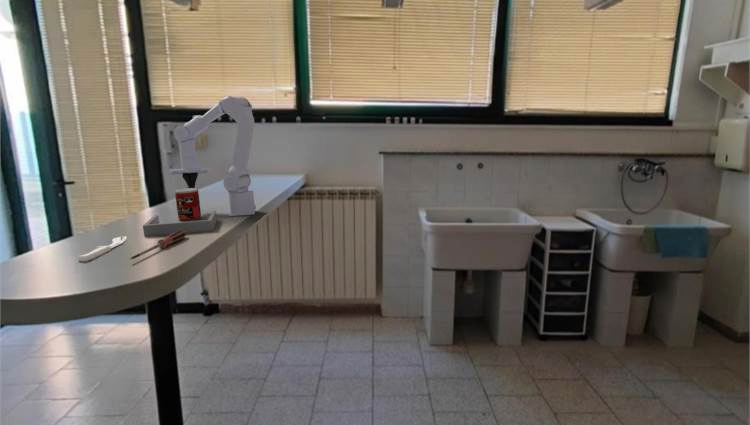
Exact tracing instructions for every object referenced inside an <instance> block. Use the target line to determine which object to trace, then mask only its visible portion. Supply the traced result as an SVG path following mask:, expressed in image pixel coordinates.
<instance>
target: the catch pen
mask: <svg viewBox="0 0 750 425" xmlns="http://www.w3.org/2000/svg"><path fill="white" fill-rule="evenodd" d="M159 217H160V216H159V214H156V215H155V214H154V215H153V216H152V217H151V218H150V219H149V220H147V222H145V223H144V224H143V225H142V230H143V235H144V236H143V237H154V236H155V237H156V236H168V235H171V234H172V233H174V232H177V231H181V230H183V231H185V232H186V234H189V233H201V232H213V231H214V228H215V227H216V224H217V222H218V217H217V210H213V211H212V212H211V213H210V215H209V217H208V219H205V220H204V219H203V220H191V221H178V222H176V221H175V222H166V223H165V222H163V223H160V218H159Z"/></svg>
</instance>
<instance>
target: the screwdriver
mask: <svg viewBox="0 0 750 425" xmlns="http://www.w3.org/2000/svg"><path fill="white" fill-rule="evenodd" d="M186 235H187V233H186V232H185V231H183V230H181V231H177V232H174V233H172V234H168V235H166V237H165V238H162V239H161V238H160V239H159V240H158V241H157V244H155V245H154V246H152V247H149V248H148V249H145V250H143V251H141V252H138V253H137V254H135V255H134V256H132V257H130V258H129V260H134V259H137V258H138V257H141V256H143V255H145V254H147V253H149V252H151V251H153V250H155V249H157V248H158V249H159V248H160V249H165V248H166V247H167V246H168V245H172V244H176V243H177V242H179V241H181V240H182V239H184V238H185V237H186Z"/></svg>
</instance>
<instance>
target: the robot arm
mask: <svg viewBox="0 0 750 425" xmlns="http://www.w3.org/2000/svg"><path fill="white" fill-rule="evenodd" d="M252 109H253V104H251V102H250V101H249V100H248V99H247V98H246V97H243V96H231V95H228V96H224V98H222V99H220V100H219V101H218V103H217V104H215V105H214V106H213V107H212V108H211V109H209V110H208V111H207V112H205V113H204V114H203V115H202V114H201V115H200V114H199V115H192V119H191V120H189V121H188V122H184V124H183V126H182V125H177V127H175V129H174V131H173V136H174V138H175V140H176V141H178V150H179V157H180V158H179V159H180V166H181V168H174V169H172V168H171V169H168V170H169V175H170V176H173V175H182V176H181V177H182V178H183V180H184V182H185V183H186V185H187V188H196V184H197V183H196V182H197V180H198V176H199V174H210V173H211V168H210V167H198V162H197V161H198V160H197V159H198V158H197V154H196V153H197V152H196V144H197V143H196V140H197V137H198V136H199V135H200V134H201V133H204V132H205V131H206V130H207V129H209V126H210V123H212V122H214V121H215V120H217V119H218V118H220V117H221V116H223V115H225V114H227V115H228V116H229V117H230V118H232V120H234V121H235V122H236V124H237V126H238V127H237V130H236V131H237V133H236V139H235V146H234V152H233V156H232V164H231V166H230V167H229V169H228V170H227V174H226V176H225V177H224V179H223V186H224V188H225V190H226V191H227V193H228V199H229V210H230V211H229V215H228V217H234V216H249V215H255V214H256V210H257V209H256V207H257V206H256V204H255V194H254V193H255V192H254V190H249V187H250V185H251V183H252V182H251V181H252V180H251V176H250V175H251V171H250V169H248V165H249V164H248V163H249V159H250V152H251V145H252V141H253V140H252V139H253V134H254V127H255V119H254V116H253V115H254V114H253V111H252Z"/></svg>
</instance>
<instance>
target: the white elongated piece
mask: <svg viewBox="0 0 750 425" xmlns="http://www.w3.org/2000/svg"><path fill="white" fill-rule="evenodd" d="M121 237H122V238H121ZM127 239H128V237H127V236H126V235H125V236H124V237H123V236H117V237H114V238H112V241H111V242H112V243H110V244H109V245H99V246H96V248H95V249H93V250H92V251H90V252H87V253H85V254H80V255H78V256H77V260H78V261H79V262H82V263H84V262H89V261H92V260H94V259H95V258H97V257H100V256H102V255H104V254H106V253H107V252H110V251H112V249H113V248H116V247H118V246H120V245H121V246H122V245H123V244H124V243H125V241H127Z"/></svg>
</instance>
